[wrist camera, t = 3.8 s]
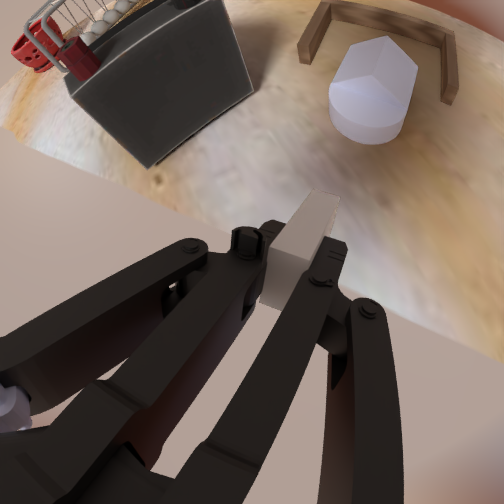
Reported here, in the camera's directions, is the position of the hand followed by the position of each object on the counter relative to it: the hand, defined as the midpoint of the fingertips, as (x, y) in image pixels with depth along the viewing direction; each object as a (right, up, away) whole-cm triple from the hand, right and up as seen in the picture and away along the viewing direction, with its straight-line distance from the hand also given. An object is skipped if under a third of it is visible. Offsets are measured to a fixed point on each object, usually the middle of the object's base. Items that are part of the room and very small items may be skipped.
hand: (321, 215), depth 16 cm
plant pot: (-54, +47, +38) cm, 81 cm away
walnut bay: (+15, +26, +17) cm, 35 cm away
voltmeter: (-14, +18, +22) cm, 32 cm away
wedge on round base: (+11, +16, +16) cm, 25 cm away
